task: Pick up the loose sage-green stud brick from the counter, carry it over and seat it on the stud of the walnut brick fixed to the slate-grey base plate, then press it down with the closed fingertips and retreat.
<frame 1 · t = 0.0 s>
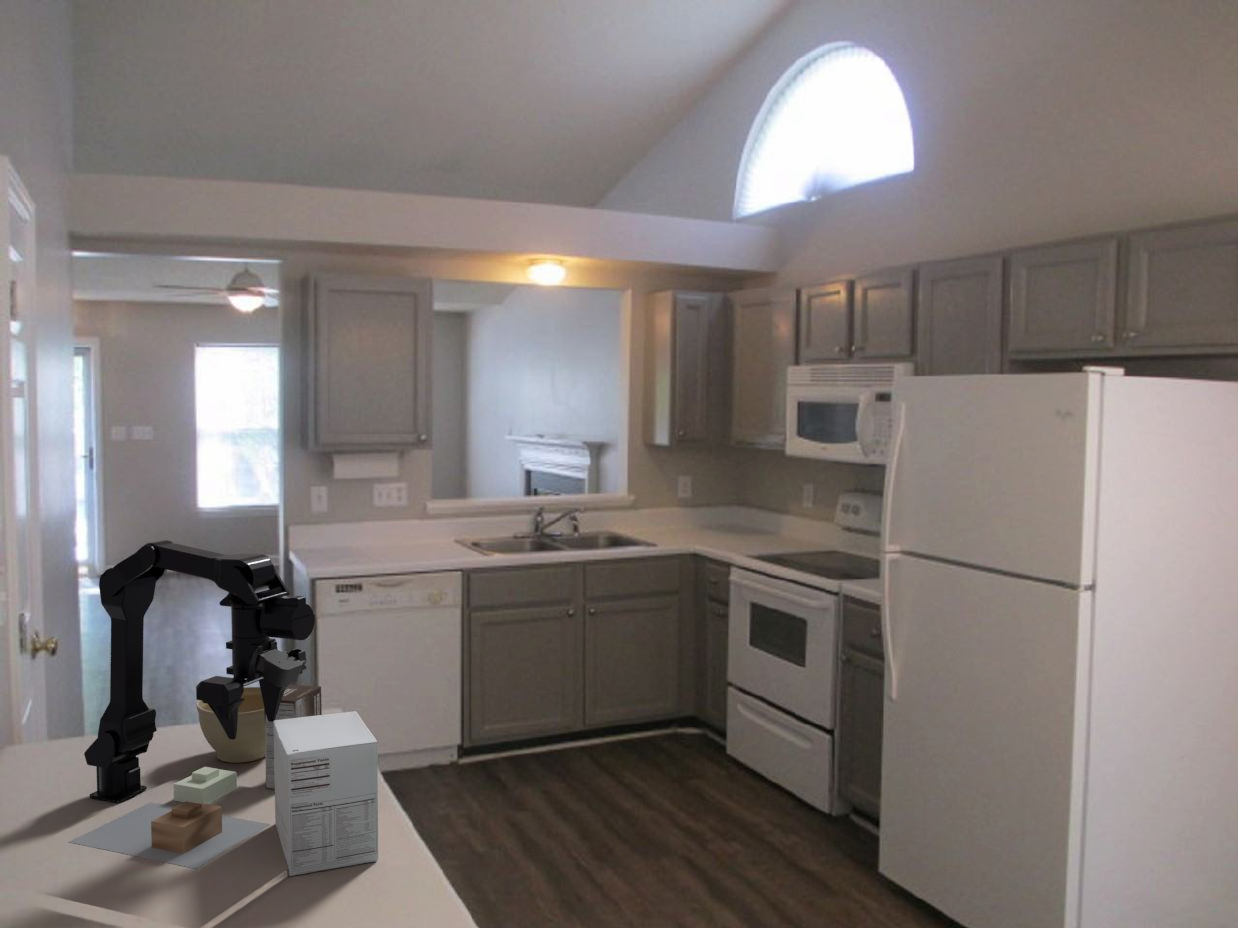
hand: (252, 729, 164), 15 cm above the countertop, fingers open, 9 cm apart
base plate: (171, 840, 157), on the countertop
supplement box: (325, 847, 156), on the countertop
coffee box: (294, 781, 182), on the countertop
planter bowl: (243, 755, 194), on the countertop
upper brick: (206, 800, 172), on the countertop
lower brick: (187, 839, 155), resting on base plate
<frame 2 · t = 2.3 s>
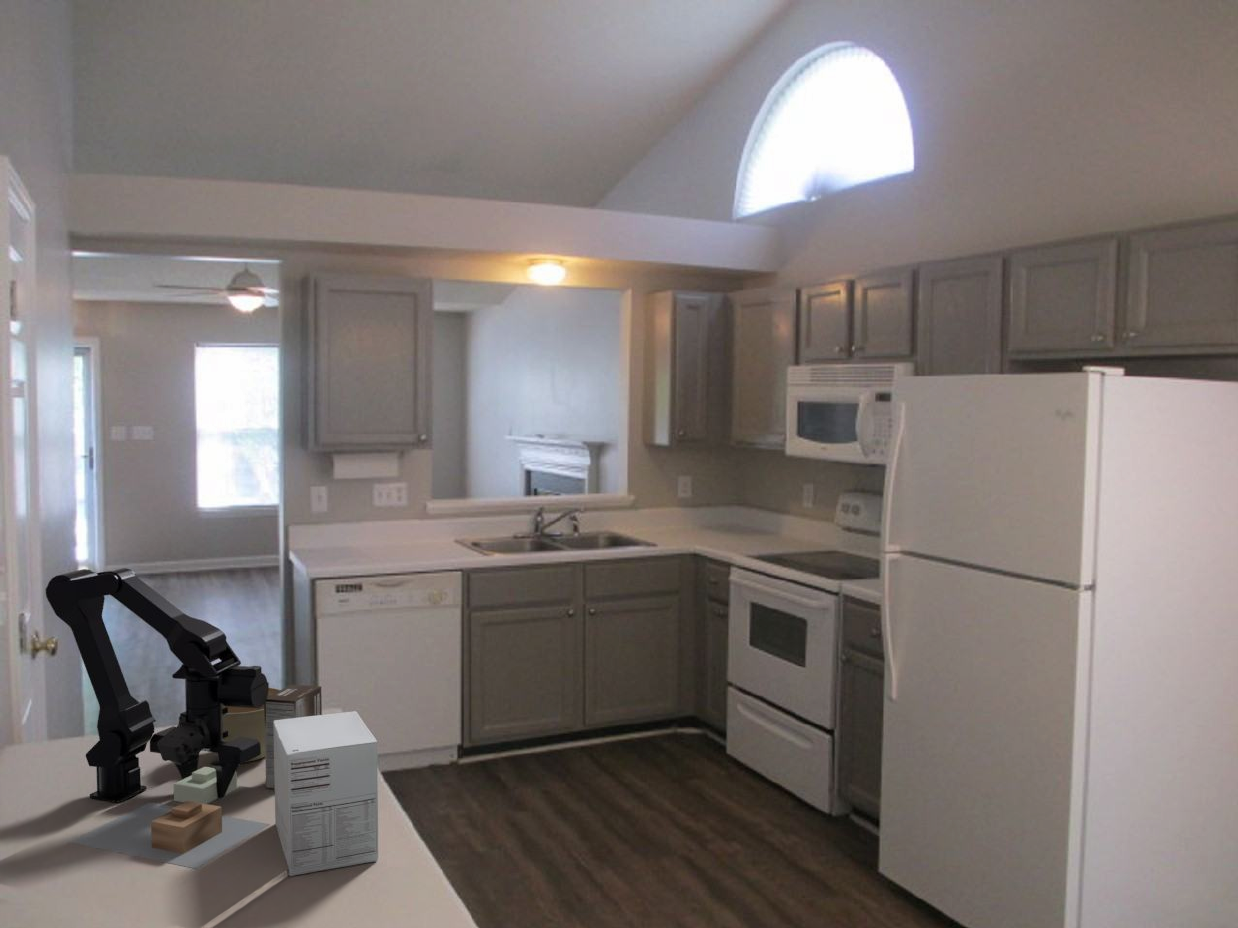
hand: (205, 794, 172), 1 cm above the countertop, fingers closed on upper brick, 6 cm apart
upper brick: (206, 800, 172), on the countertop, touching gripper
everything else where it was.
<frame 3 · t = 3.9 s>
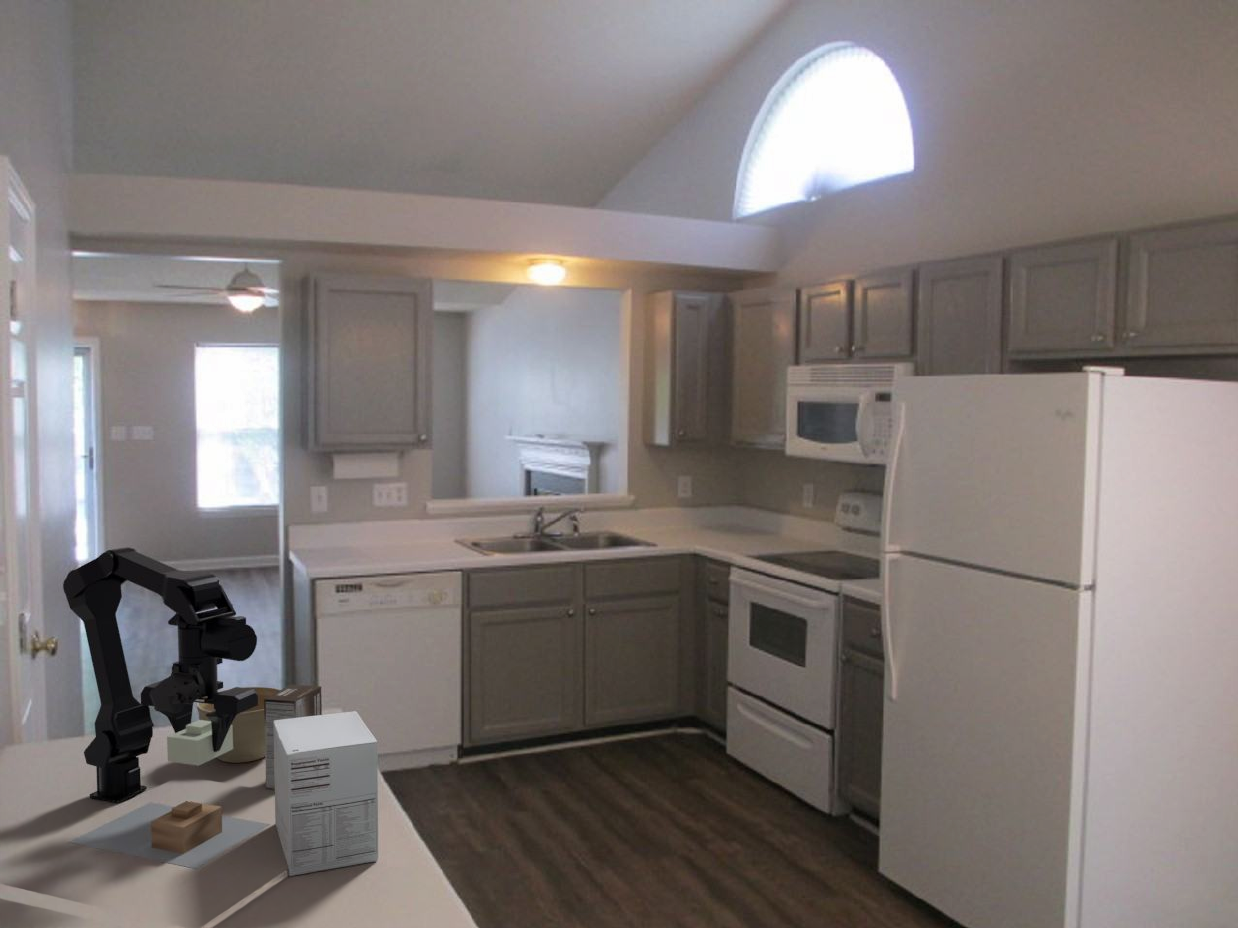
hand: (200, 748, 165), 11 cm above the countertop, fingers closed on upper brick, 6 cm apart
upper brick: (201, 754, 165), point 10 cm above the countertop, touching gripper
everything else where it was.
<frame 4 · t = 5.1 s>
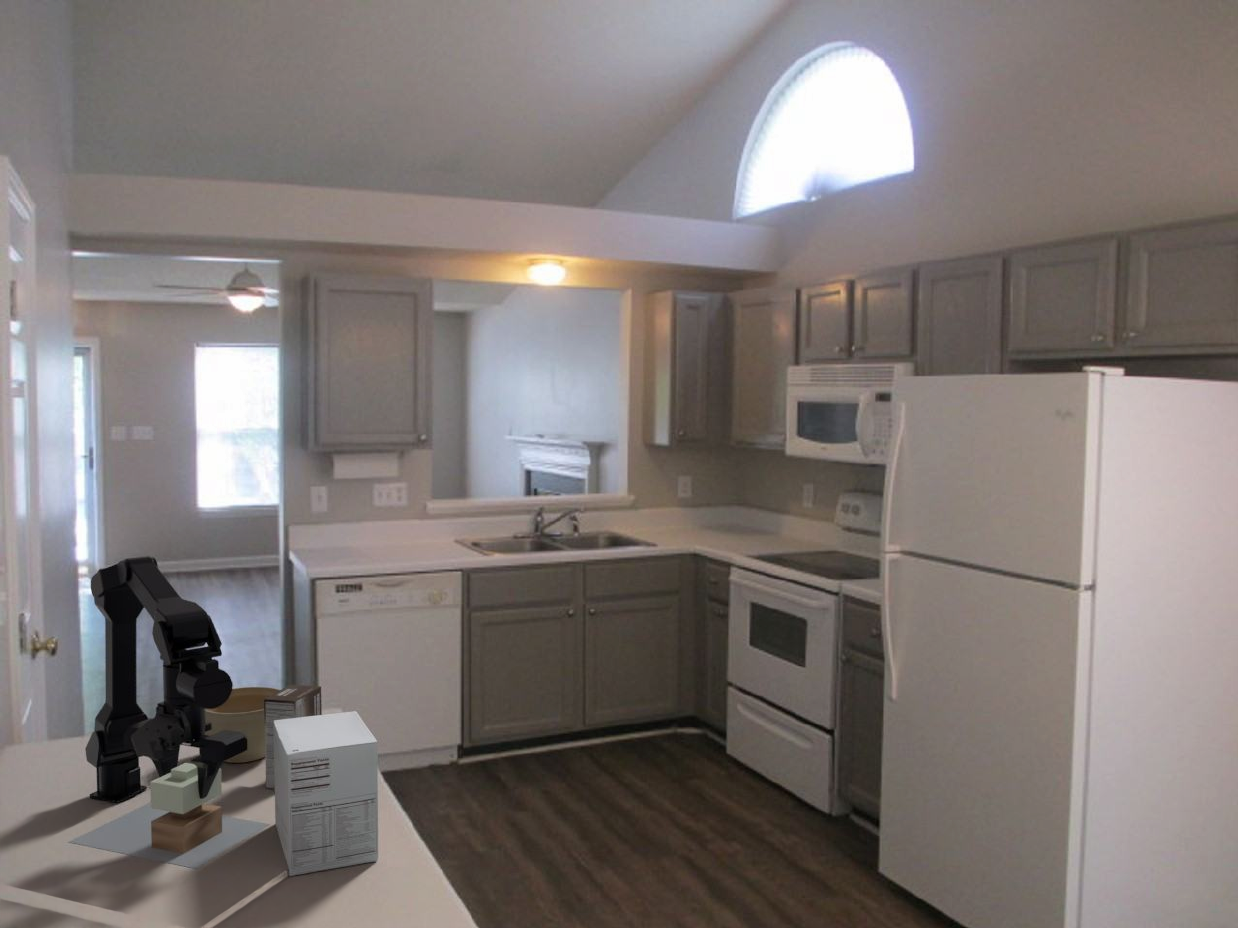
hand: (186, 794, 154), 8 cm above the countertop, fingers closed on upper brick, 6 cm apart
upper brick: (186, 800, 155), point 7 cm above the countertop, touching gripper
everything else where it was.
when the fingers open (7 cm above the countertop, at t = 5.8 s): upper brick stays where it is, resting on lower brick.
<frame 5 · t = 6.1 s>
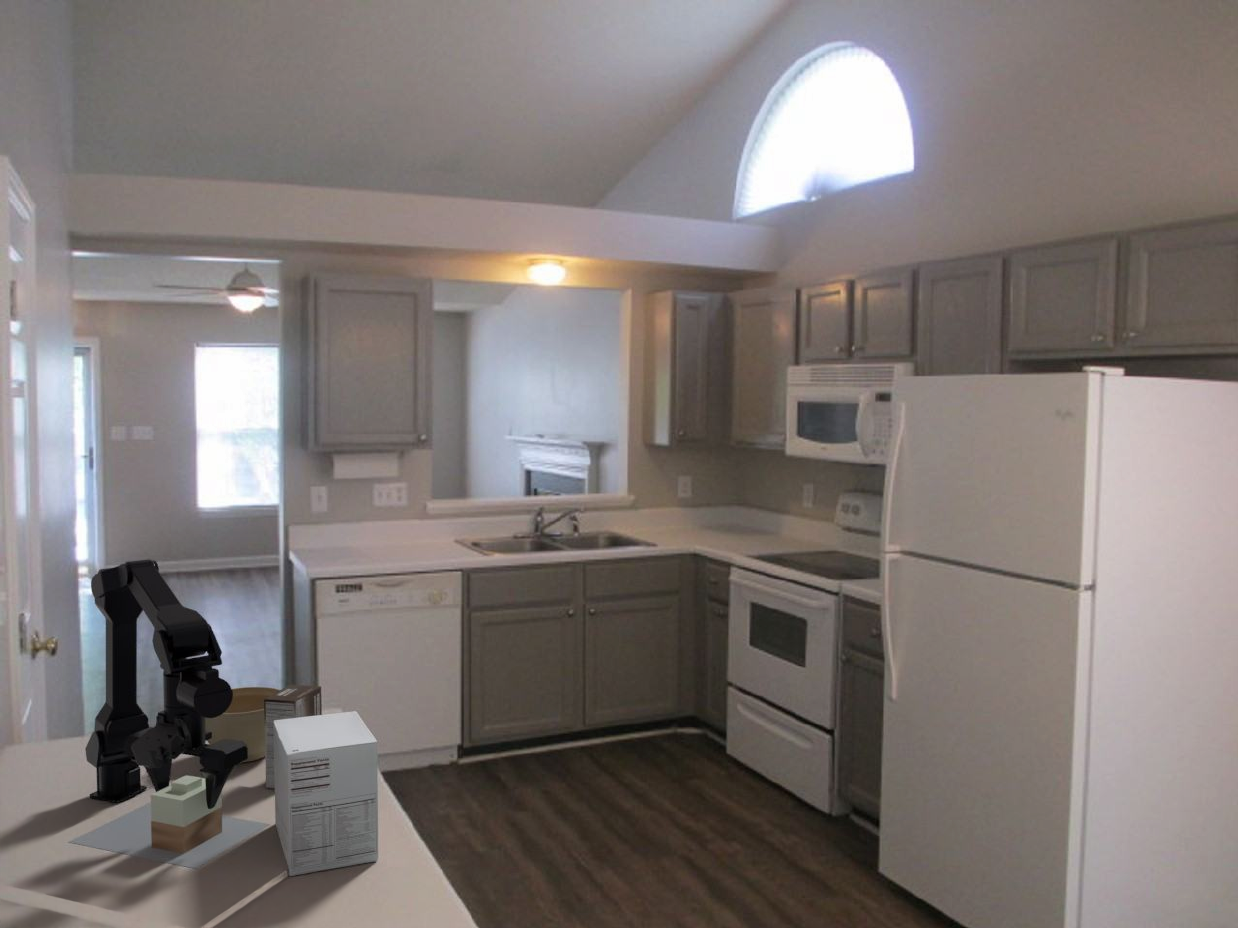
hand: (186, 803, 154), 7 cm above the countertop, fingers open, 9 cm apart
upper brick: (187, 813, 155), point 5 cm above the countertop, touching lower brick
everything else where it was.
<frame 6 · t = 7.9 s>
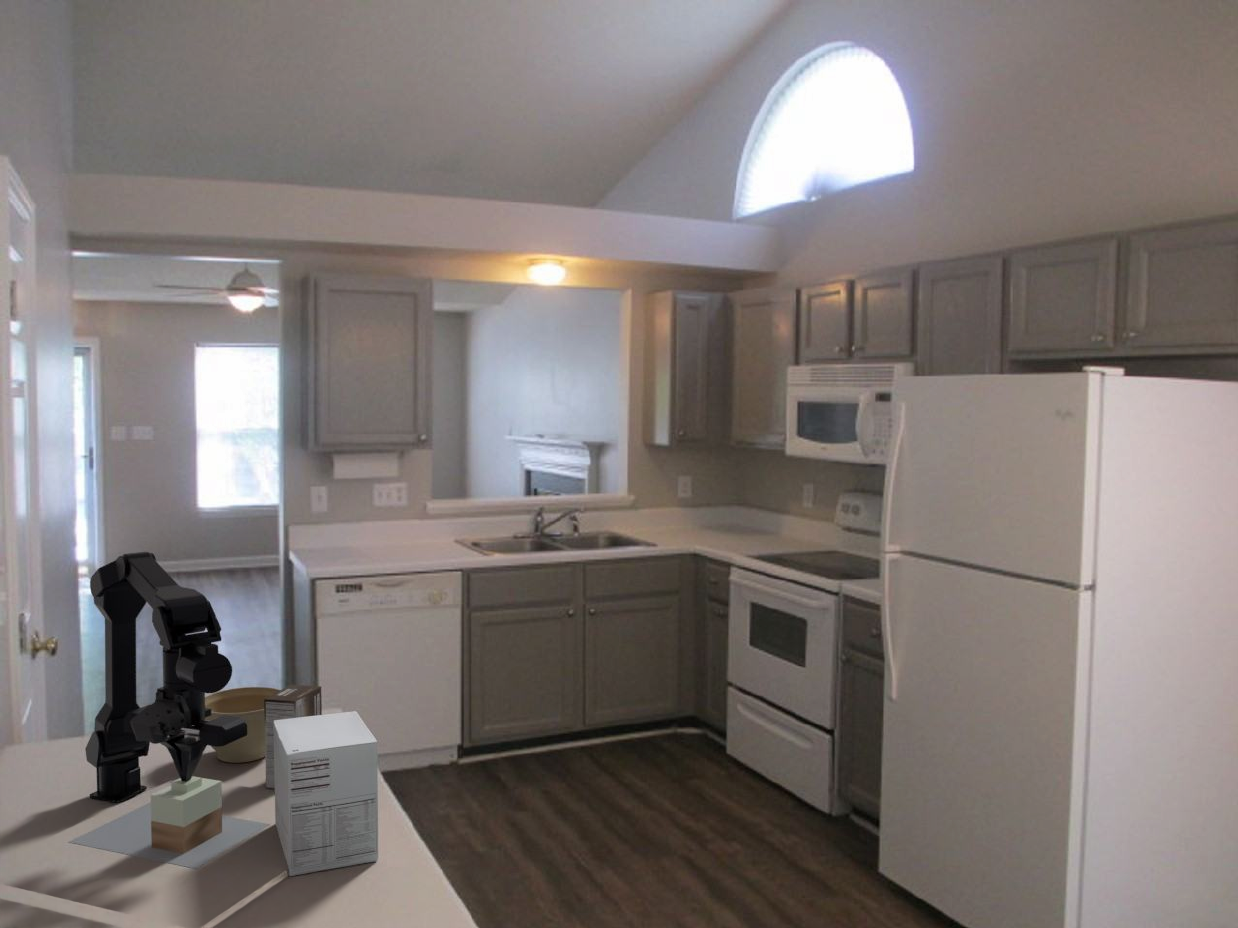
hand: (186, 780, 154), 10 cm above the countertop, fingers closed, pressing on upper brick
upper brick: (187, 813, 155), point 5 cm above the countertop, touching gripper, lower brick
everything else where it was.
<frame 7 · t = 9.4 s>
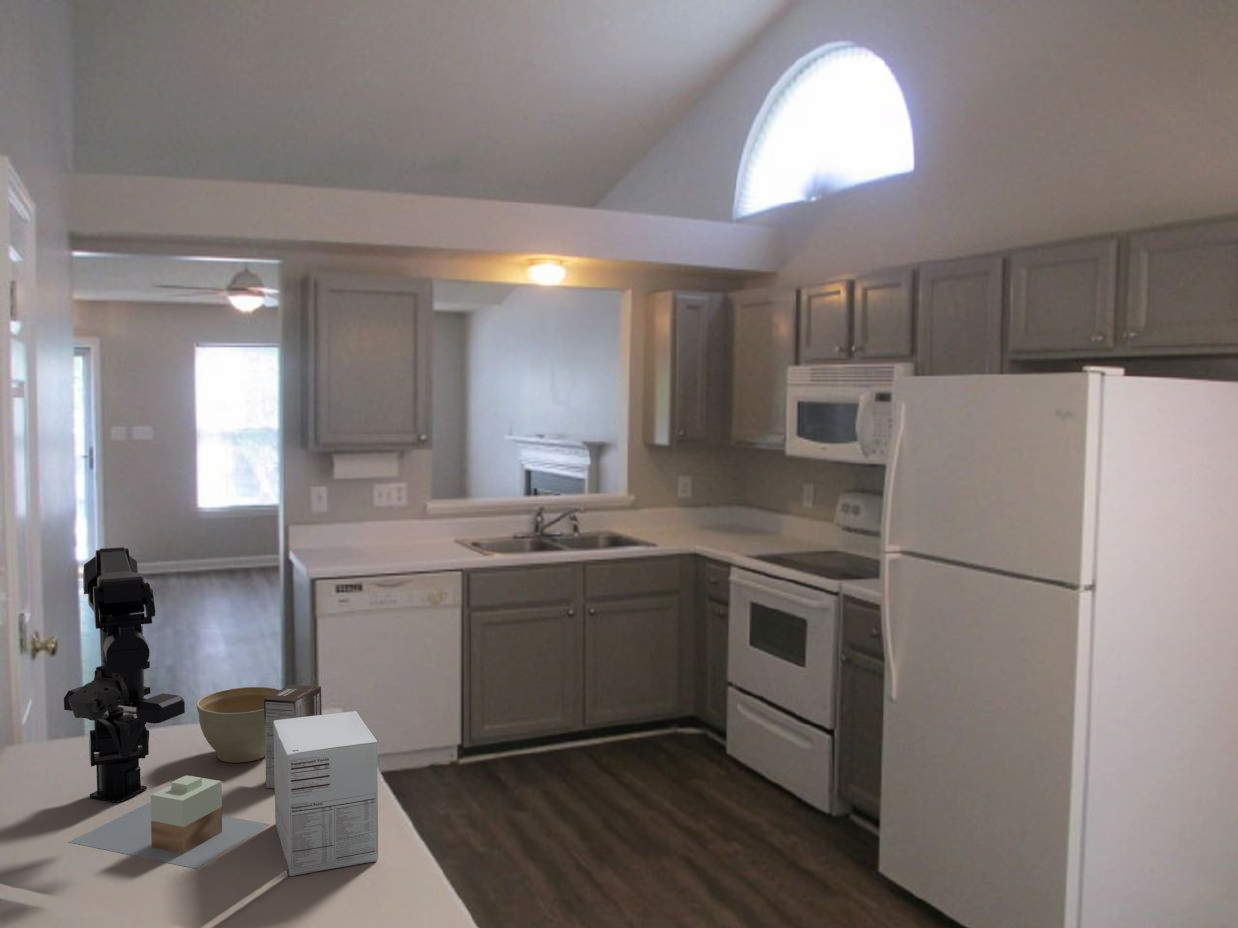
hand: (125, 756, 158), 12 cm above the countertop, fingers closed
upper brick: (187, 813, 155), point 5 cm above the countertop, touching lower brick
everything else where it was.
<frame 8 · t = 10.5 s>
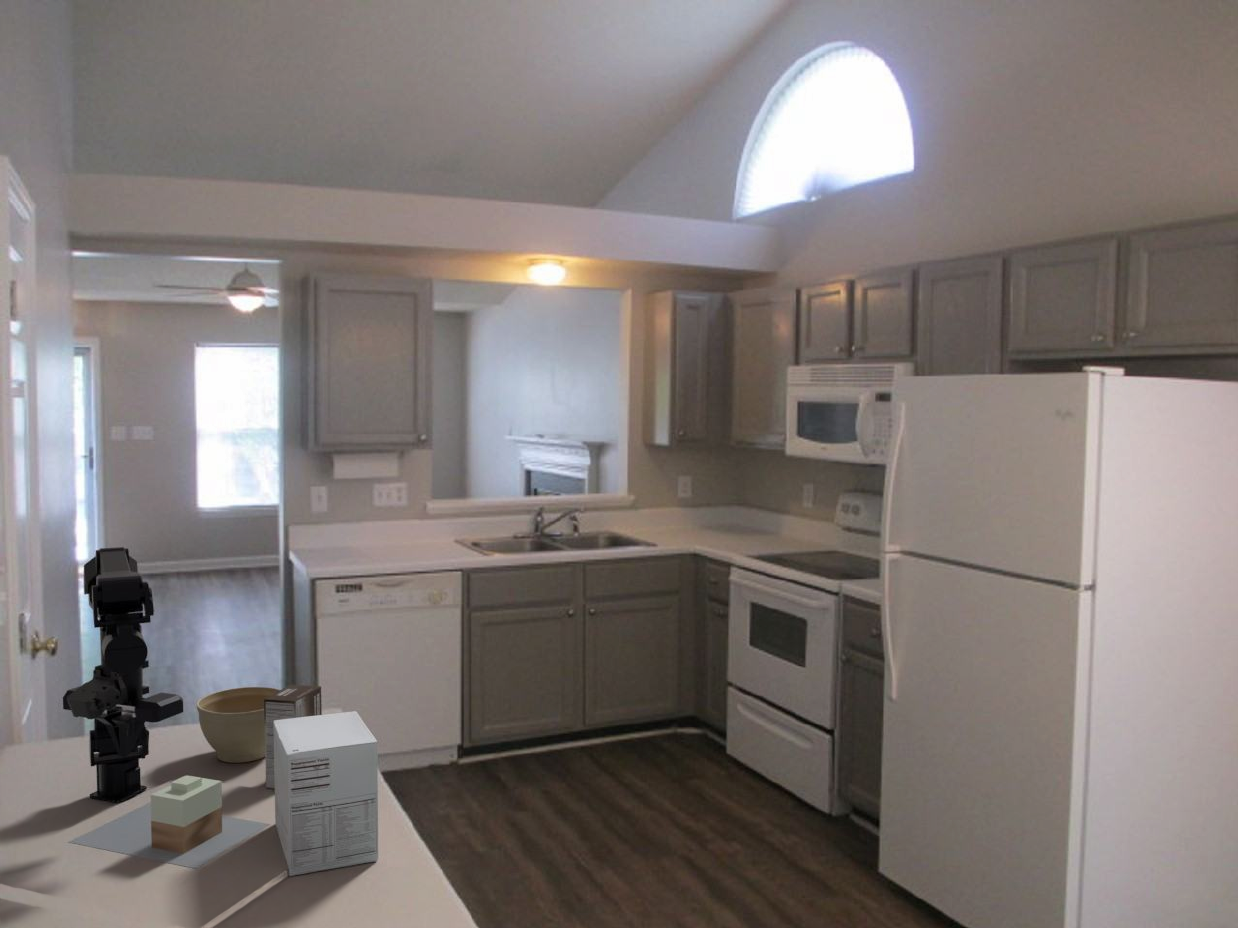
hand: (124, 756, 158), 13 cm above the countertop, fingers closed
nothing on the countertop moved.
at the end: upper brick 0.1 cm off-centre on the lower brick, point 4.0 cm above the lower brick's base; upper brick tilted 0° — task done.
